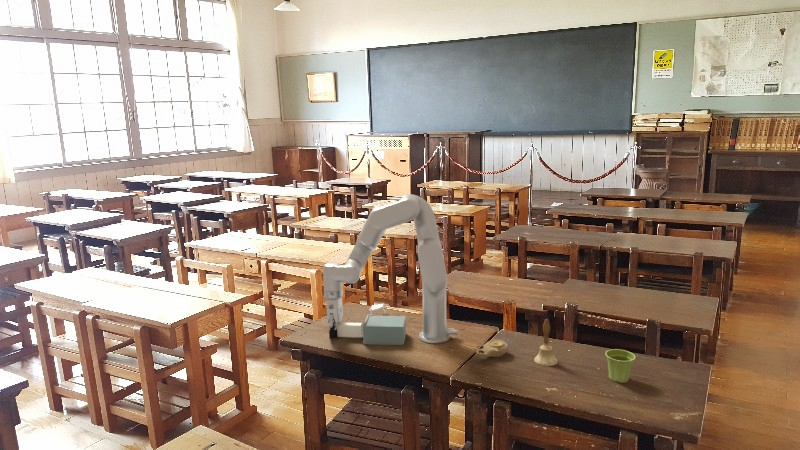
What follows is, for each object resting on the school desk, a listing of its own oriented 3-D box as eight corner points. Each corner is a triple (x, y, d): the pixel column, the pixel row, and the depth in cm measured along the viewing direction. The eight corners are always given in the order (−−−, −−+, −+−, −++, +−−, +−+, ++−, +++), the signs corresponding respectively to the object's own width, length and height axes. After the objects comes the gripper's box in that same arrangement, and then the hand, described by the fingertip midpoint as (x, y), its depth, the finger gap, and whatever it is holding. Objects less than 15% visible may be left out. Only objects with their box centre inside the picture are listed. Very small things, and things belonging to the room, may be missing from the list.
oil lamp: (474, 362, 202) (474, 349, 201) (482, 347, 215) (482, 335, 214) (503, 366, 198) (503, 353, 197) (510, 351, 211) (510, 338, 210)
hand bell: (544, 367, 196) (546, 325, 193) (529, 359, 203) (530, 318, 200) (562, 362, 200) (564, 321, 197) (546, 354, 207) (548, 314, 204)
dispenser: (405, 333, 230) (405, 314, 228) (403, 344, 218) (403, 325, 216) (367, 332, 231) (367, 314, 230) (363, 344, 219) (362, 324, 218)
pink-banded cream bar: (362, 334, 227) (362, 322, 226) (361, 337, 224) (360, 325, 223) (331, 333, 228) (330, 322, 227) (329, 336, 225) (329, 324, 224)
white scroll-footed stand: (371, 312, 256) (371, 301, 255) (388, 313, 254) (388, 303, 253) (362, 321, 245) (362, 310, 244) (380, 322, 242) (380, 312, 241)
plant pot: (640, 383, 184) (641, 358, 182) (615, 387, 181) (617, 362, 180) (621, 371, 193) (622, 347, 191) (598, 375, 190) (599, 351, 189)
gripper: (338, 300, 214) (340, 344, 217) (346, 287, 231) (347, 328, 234) (319, 300, 215) (321, 343, 218) (328, 286, 231) (330, 327, 235)
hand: (335, 335), depth 226 cm, fingers open, 5 cm apart
